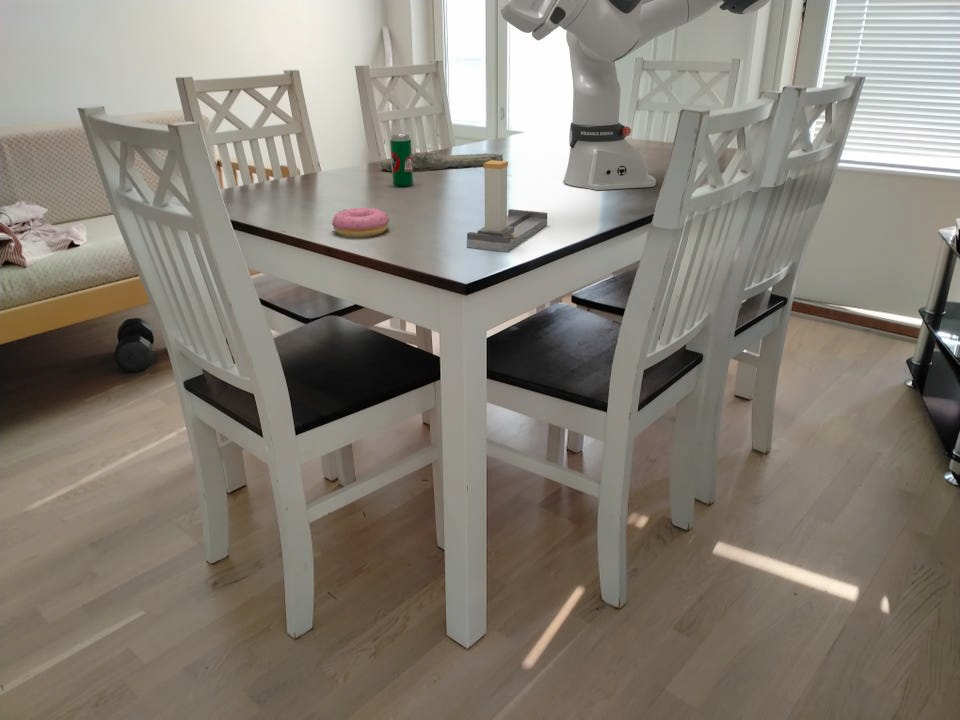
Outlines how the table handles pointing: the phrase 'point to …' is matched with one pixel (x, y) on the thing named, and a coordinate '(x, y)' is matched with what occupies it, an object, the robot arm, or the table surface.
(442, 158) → the elongated rock
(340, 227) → the doughnut
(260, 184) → the table surface
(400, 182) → the soda can
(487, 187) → the fader tab
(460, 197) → the table surface
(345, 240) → the table surface
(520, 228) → the fader rail
